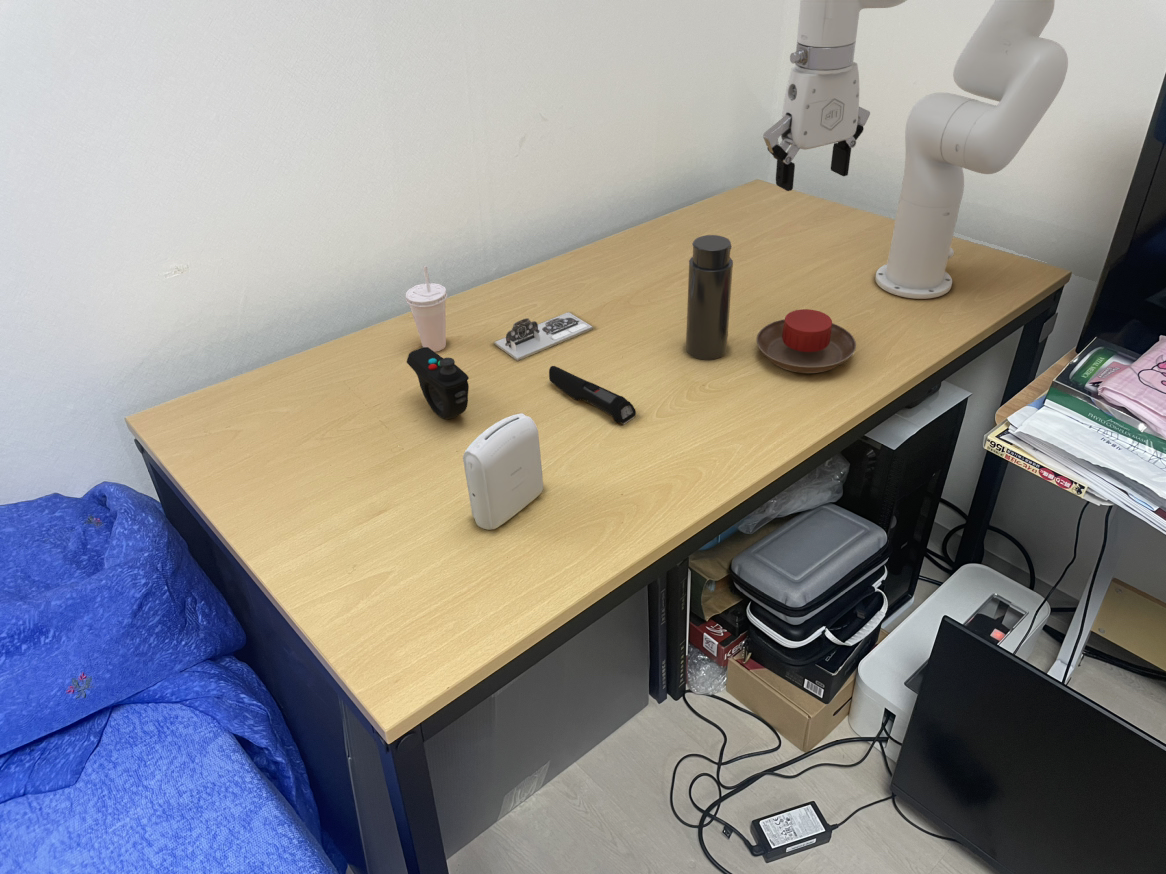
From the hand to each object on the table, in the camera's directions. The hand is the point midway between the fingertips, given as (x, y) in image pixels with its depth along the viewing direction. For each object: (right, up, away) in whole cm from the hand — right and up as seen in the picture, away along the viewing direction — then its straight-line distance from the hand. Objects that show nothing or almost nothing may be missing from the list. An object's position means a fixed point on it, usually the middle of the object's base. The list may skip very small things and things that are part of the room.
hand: (811, 180), depth 126 cm
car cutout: (-40, -21, +16) cm, 47 cm away
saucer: (+1, -25, +8) cm, 26 cm away
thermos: (-14, -23, +11) cm, 29 cm away
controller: (-53, -33, 0) cm, 63 cm away
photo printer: (-42, -46, -17) cm, 65 cm away
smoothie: (-57, -23, +15) cm, 63 cm away
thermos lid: (+1, -22, +7) cm, 23 cm away
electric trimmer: (-32, -32, +1) cm, 45 cm away
